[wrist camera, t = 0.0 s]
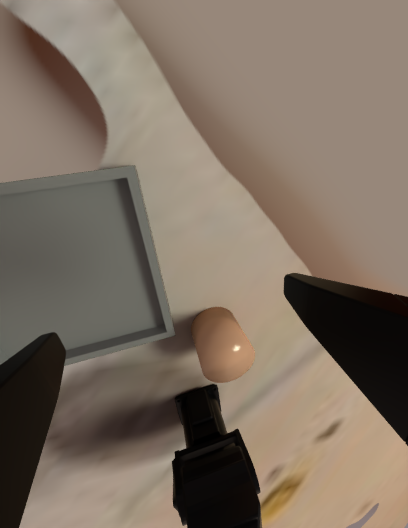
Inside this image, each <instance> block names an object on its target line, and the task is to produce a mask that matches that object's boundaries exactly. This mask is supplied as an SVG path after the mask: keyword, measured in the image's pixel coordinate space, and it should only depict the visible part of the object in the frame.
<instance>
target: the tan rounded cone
mask: <svg viewBox="0 0 408 528" xmlns="http://www.w3.org/2000/svg"><path fill="white" fill-rule="evenodd" d="M191 333H192V336H193V340H194V344H195V347H196V351H197V354H198V358H199V361H200V365H201V368H202V372H203V374H204V376H205V377H206V378H207V379H208V380H210V381H212V382H217V383H224V382H229V381H232V380H235V379H237V378H239V377H241V376H242V375H243V374H245V373H246V372H247V371H248V370H249V368H250V367H251V366H252V364H253V362H254V359H255V351H254V348H253V347H252V345H251V343H250V342H249V340H248V338H247V337H246V335H245V334H244V332H243V330H242V329H241V327H240V325H239V324H238V322H237V320H236V319H235V317H234V316H233V314H232V313H231V312H230V311H229V310H228V309H226V308H223V307H212V308H209V309H206V310H204V311H202V312H201V313H200V314H199V315H197V317H196V318H195V319H194V321H193V323H192V326H191Z"/></svg>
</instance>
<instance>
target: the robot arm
mask: <svg viewBox="0 0 408 528" xmlns="http://www.w3.org/2000/svg"><path fill="white" fill-rule="evenodd" d="M284 295H285V297H286V299H287V300H288V302H289V303H290V304H291V306H292V307H293V309H294V310H295V312H296V313H297V315H298V316H299V318H300V319H301V320H302V322H303V323H304V324H305V326H306V327H307V328H308V329H309V331H310V332H311V333H312V334H313V335H314V336H315V338H316V339H317V340H318V341H319V342H320V344H321V345H322V346H323V347H324V348H325V349H326V351H327V352H328V353H329V354H330V355H331V356H332V358H333V359H334V360H335V361H336V362H337V363H338V365H339V366H340V367H341V368H342V369H343V370H344V372H345V373H346V374H347V375H348V376H349V377H350V379H351V380H352V381H353V382H354V383H355V385H356V386H357V387H358V388H359V389H360V390H361V392H362V393H363V394H364V395H365V396H366V397H367V399H368V400H369V401H370V402H371V403H372V404H373V406H374V407H375V408H376V409H377V410H378V411H379V413H380V414H381V415H382V416H383V417H384V418H385V420H386V421H387V422H388V423H389V424H390V425H391V427H392V428H393V429H394V430H395V431H396V433H397V434H398V435H399V436H400V437H401V438H402V440H403V441H405V442H406V444H407V446H408V297H405V296H401V295H397V294H394V295H393V294H391V293H387V292H382V291H378V290H373V289H368V288H364V287H359V286H354V285H350V284H345V283H340V282H336V281H331V280H326V279H322V278H317V277H312V276H308V275H303V274H298V273H291V274H287V275H286V276H285V277H284ZM65 358H66V349H65V347H64V345H63V343H62V341H61V340H60V338H59V336H58V334H57V333H55V332H51V333H47V334H43V335H41V336H39V337H38V338H36V339H35V340H34V341H32V342H31V343H29V344H28V345H27V346H25V347H24V348H23V349H21V350H20V351H19V352H17V353H16V354H14V355H13V356H12V357H10V358H9V359H8V360H6V361H5V362H4V363H2V364H1V365H0V528H19V526H20V523H21V519H22V516H23V513H24V509H25V506H26V503H27V499H28V496H29V493H30V489H31V486H32V483H33V479H34V476H35V473H36V469H37V466H38V463H39V460H40V456H41V453H42V450H43V446H44V443H45V440H46V436H47V433H48V430H49V426H50V423H51V420H52V416H53V413H54V410H55V406H56V403H57V399H58V395H59V391H60V385H61V380H62V375H63V369H64V364H65ZM175 403H176V406H177V409H178V413H179V416H180V420H181V423H182V425H183V428H184V435H185V441H186V449H183V450H181V451H179V450H178V451H175V459H174V460H173V461H172V467H173V506H174V508H175V509H176V510H177V511H178V512H179V516H180V517H181V522H182V525H183V526H184V525H187V528H262V522H261V509H260V502H259V499H258V496H257V494H259V493H260V487H259V483H258V479H257V475H256V472H255V469H254V466H253V463H252V461H251V458H250V456H249V453H248V451H247V448H246V446H245V444H244V441H243V439H242V437H241V434H240V432H239V430H238V429H235V430H234V431H232V432H230V433H227V431H226V427H225V424H224V421H223V418H222V415H221V406H220V399H219V392H218V387H217V385H212V386H208V387H205V388H202V389H199V390H196V391H193V392H190V393H187V394H184V395H181V396H178V397H176V398H175Z"/></svg>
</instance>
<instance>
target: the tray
mask: <svg viewBox="0 0 408 528" xmlns="http://www.w3.org/2000/svg"><path fill="white" fill-rule="evenodd" d="M51 332H55V333H57V334H58V336H59V338H60V340H61V341H62V343H63V345H64V347H65V349H66V358H65V364H64V366H66V365H70V364H73V363H77V362H81V361H84V360H88V359H92V358H95V357H99V356H103V355H106V354H110V353H113V352H117V351H121V350H124V349H128V348H132V347H135V346H139V345H143V344H146V343H150V342H154V341H157V340H161V339H165V338H168V337H172V336H175V331H174V326H173V321H172V317H171V313H170V309H169V304H168V300H167V296H166V292H165V288H164V283H163V279H162V275H161V271H160V267H159V262H158V258H157V254H156V250H155V246H154V241H153V237H152V233H151V229H150V225H149V220H148V216H147V212H146V208H145V204H144V199H143V195H142V191H141V187H140V183H139V178H138V174H137V170H136V166H135V165H134V166H126V167H119V168H111V169H104V170H96V171H88V172H82V173H73V174H66V175H58V176H51V177H44V178H37V179H29V180H21V181H13V182H6V183H0V365H1V364H2V363H4V362H5V361H6V360H8V359H9V358H10V357H12V356H13V355H14V354H16V353H17V352H19V351H20V350H21V349H23V348H24V347H25V346H27V345H28V344H29V343H31V342H32V341H34V340H35V339H36V338H38V337H39V336H41V335H43V334H47V333H51Z"/></svg>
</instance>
